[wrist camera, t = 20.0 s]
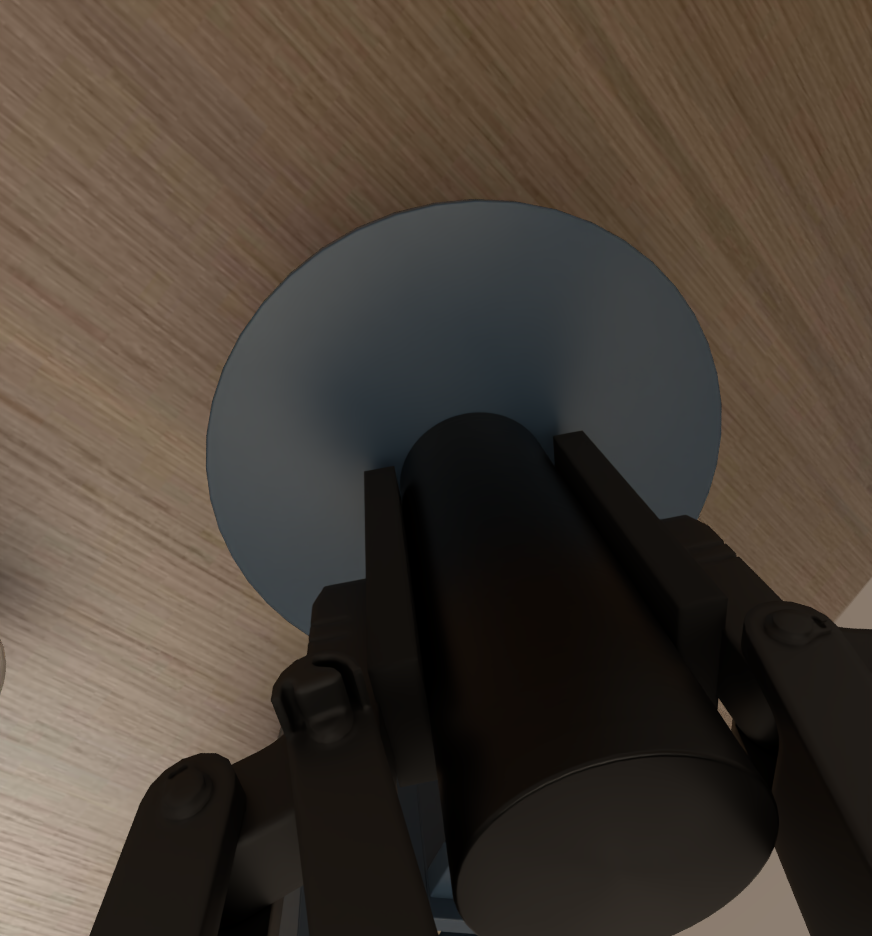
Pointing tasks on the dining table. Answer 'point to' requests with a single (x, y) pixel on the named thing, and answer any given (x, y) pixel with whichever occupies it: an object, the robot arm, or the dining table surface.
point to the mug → (2, 665)
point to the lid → (506, 545)
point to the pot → (431, 858)
